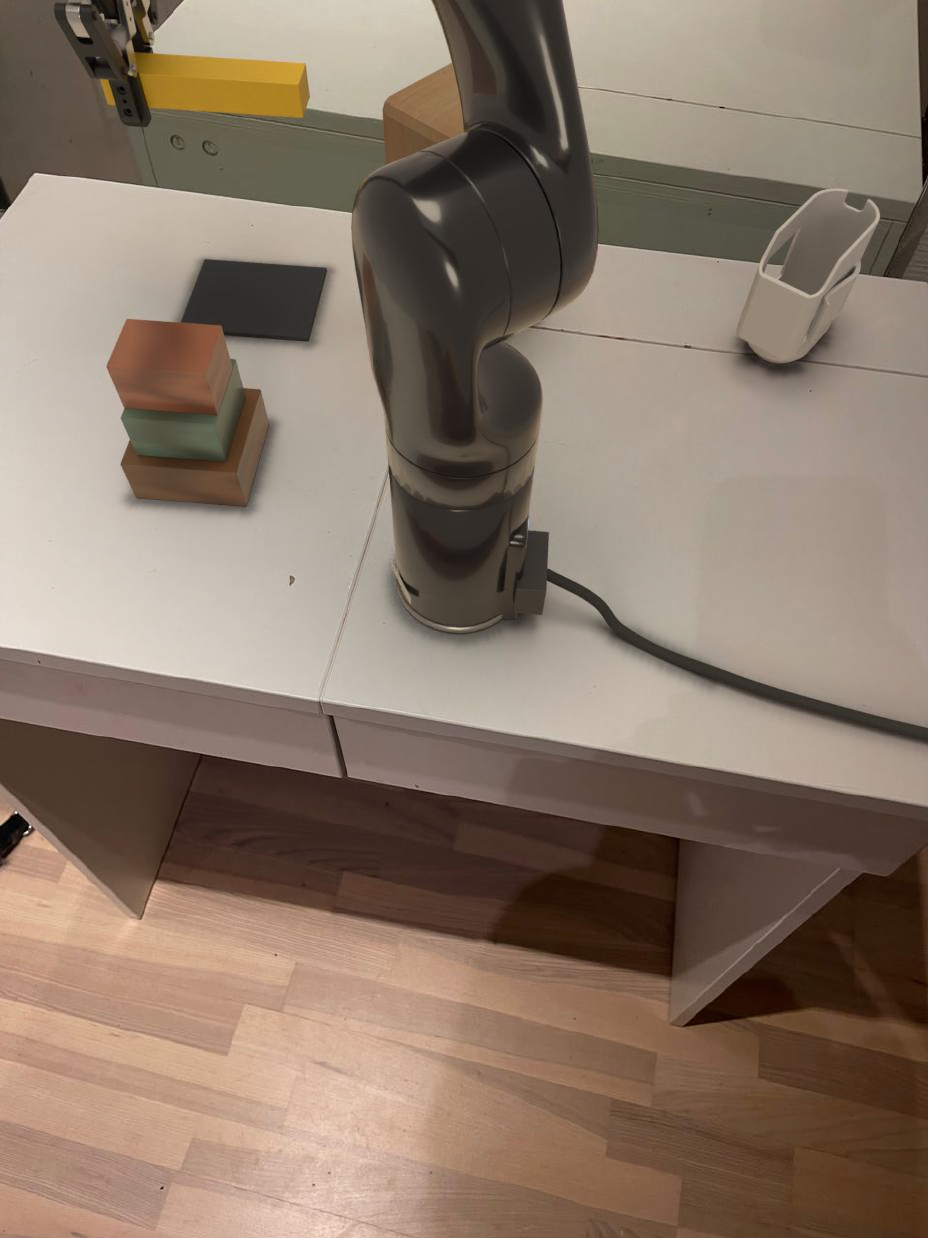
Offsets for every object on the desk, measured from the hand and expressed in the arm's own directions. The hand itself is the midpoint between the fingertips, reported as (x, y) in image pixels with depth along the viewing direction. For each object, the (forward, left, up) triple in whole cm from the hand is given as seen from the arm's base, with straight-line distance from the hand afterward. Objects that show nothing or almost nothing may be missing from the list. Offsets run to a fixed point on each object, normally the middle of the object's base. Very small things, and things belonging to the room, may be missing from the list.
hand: (143, 109), depth 68 cm
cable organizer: (-55, +1, -18) cm, 57 cm away
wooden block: (-26, 0, -18) cm, 31 cm away
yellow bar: (-5, 0, +1) cm, 6 cm away
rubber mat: (-6, 0, -17) cm, 18 cm away
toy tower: (-6, +20, -17) cm, 27 cm away
